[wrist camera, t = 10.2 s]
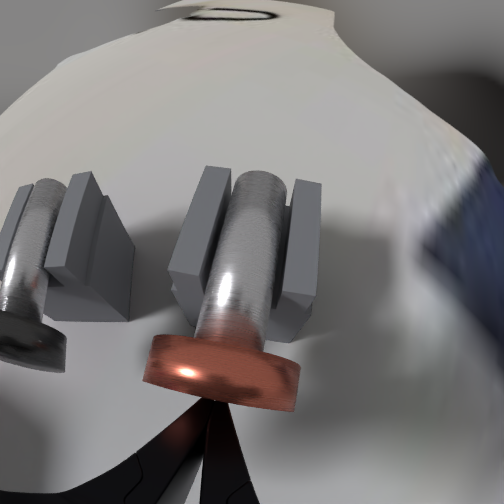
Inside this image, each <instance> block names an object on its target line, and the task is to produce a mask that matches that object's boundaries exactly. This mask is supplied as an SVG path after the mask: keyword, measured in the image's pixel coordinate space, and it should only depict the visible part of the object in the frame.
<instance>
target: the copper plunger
mask: <svg viewBox="0 0 504 504" xmlns="http://www.w3.org/2000/svg"><path fill="white" fill-rule="evenodd" d="M286 196H287V189H286V186H285V184H284V182H283V181H282V180H281V179H280V178H278V177H277V176H275V175H273V174H271V173H268V172H264V171H249V172H246V173H244V174H242V175H240V176H239V177H238V178H237V180H236V182H235V185H234V189H233V192H232V196H231V199H230V202H229V206H228V209H227V213H226V217H225V220H224V224H223V227H222V231H221V234H220V238H219V242H218V245H217V249H216V253H215V256H214V260H213V264H212V268H211V272H210V275H209V279H208V283H207V287H206V291H205V295H204V299H203V303H202V307H201V311H200V315H199V319H198V323H197V327H196V331H195V335H194V338H193V337H186V336H178V335H156V336H154V337H153V341H152V345H151V349H150V352H149V356H148V360H147V364H146V368H145V372H144V376H143V380H142V381H144V382H147V383H150V384H154V385H157V386H160V387H164V388H167V389H171V390H175V391H178V392H182V393H186V394H190V395H194V396H199V397H203V398H208V399H212V400H217V401H222V402H227V403H232V404H238V405H244V406H250V407H256V408H263V409H270V410H279V411H288V412H294V409H295V403H296V396H297V390H298V383H299V376H300V369H301V367H300V365H298V364H297V363H295V362H293V361H291V360H288V359H286V358H283V357H280V356H276V355H273V354H269V353H265V352H263V351H264V345H265V339H266V333H267V327H268V321H269V314H270V308H271V302H272V295H273V289H274V282H275V275H276V268H277V262H278V255H279V248H280V241H281V233H282V226H283V219H284V211H285V204H286Z"/></svg>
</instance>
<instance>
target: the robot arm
mask: <svg viewBox="0 0 504 504" xmlns="http://www.w3.org/2000/svg"><path fill="white" fill-rule="evenodd" d="M202 459H203V466H202V478H201V490H200V504H260V503H259V501H258V498H257V495H256V493H255V490H254V487H253V484H252V482H251V481H250V480H251V479H250V476H249V473H248V469H247V466H246V463H245V460H244V457H243V453H242V450H241V447H240V444H239V440H238V437H237V433H236V430H235V426H234V423H233V419H232V416H231V412H230V409H229V405H228V403H227V402H222V401H217V400H215V401H214V400H212V399H208V398H203V397H202V398H200V399H199V400H198V401H197V402H196V403H195V404H194V405H192V406H191V407H190V408H189V409H188V410H187V411H185V412H184V413H183V414H182V415H181V416H180V417H178V418H177V419H176V420H175V421H174V422H173V423H171V424H170V425H169V426H168V427H167V428H165V429H164V430H163V431H162V432H160V433H159V434H158V435H157V436H156V437H154V438H153V439H152V440H151V441H149V442H148V443H147V444H145V445H144V446H143V447H142V448H140V449H139V450H138V451H137V452H136V453H134V454H132V455H131V456H130V457H129V458H127V459H126V460H124V461H123V462H122V463H120V464H119V465H117V466H116V467H114V468H112V469H111V470H109V471H107V472H105V473H104V474H102V475H100V476H98V477H96V478H94V479H92V480H90V481H88V482H86V483H84V484H82V485H80V486H77V487H75V488H73V489H71V490H68V491H65V492H60V493H22V492H9V491H2V490H0V504H184V503H185V501H186V498H187V496H188V494H189V491H190V489H191V487H192V484H193V482H194V479H195V477H196V474H197V472H198V470H199V467H200V465H201V462H202Z"/></svg>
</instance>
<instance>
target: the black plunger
mask: <svg viewBox="0 0 504 504" xmlns="http://www.w3.org/2000/svg"><path fill="white" fill-rule="evenodd" d="M66 191H67V187H66V186H65V185H64V184H62V183H61V182H59V181H57V180H54V179H49V178H45V179H41V180H39V181H37V182H36V184H35V186H34V188H33V190H32V192H31V195H30V197H29V200H28V202H27V205H26V207H25V210H24V212H23V215H22V217H21V220H20V223H19V226H18V229H17V232H16V234H15V237H14V241H13V244H12V247H11V250H10V254H9V257H8V261H7V264H6V268H5V272H4V276H3V280H2V284H1V289H0V360H1V361H4V362H7V363H11V364H14V365H18V366H22V367H26V368H30V369H35V370H40V371H47V372H55V373H64V372H65V359H66V342H67V338H66V336H65V335H64V334H62V333H61V332H59V331H58V330H56V329H54V328H52V327H50V326H48V325H45V324H43V323H42V319H43V311H44V304H45V298H46V292H47V287H48V281H49V276H50V273H49V272H48V271H47V270H46V269H45V268H44V265H45V261H46V256H47V252H48V249H49V245H50V241H51V237H52V234H53V230H54V227H55V224H56V221H57V217H58V214H59V211H60V208H61V205H62V202H63V199H64V197H65V194H66Z"/></svg>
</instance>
